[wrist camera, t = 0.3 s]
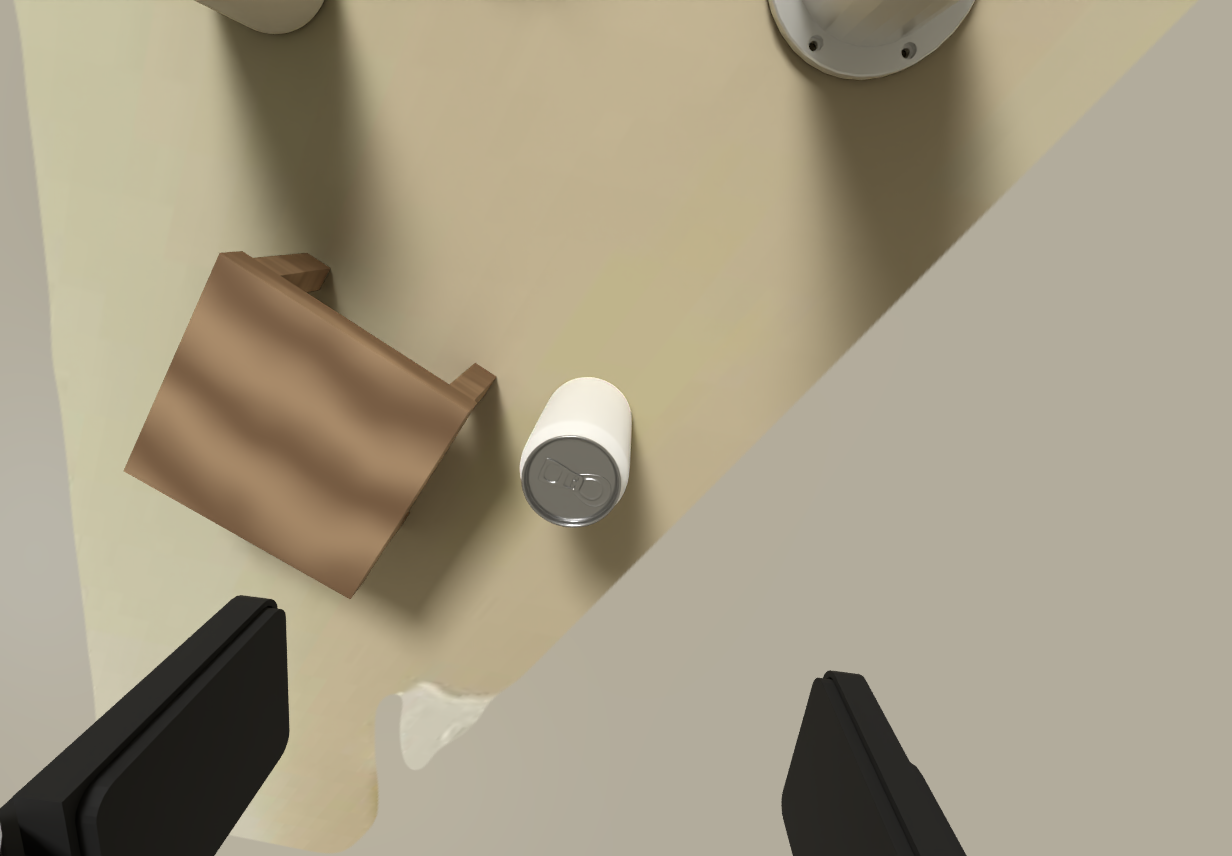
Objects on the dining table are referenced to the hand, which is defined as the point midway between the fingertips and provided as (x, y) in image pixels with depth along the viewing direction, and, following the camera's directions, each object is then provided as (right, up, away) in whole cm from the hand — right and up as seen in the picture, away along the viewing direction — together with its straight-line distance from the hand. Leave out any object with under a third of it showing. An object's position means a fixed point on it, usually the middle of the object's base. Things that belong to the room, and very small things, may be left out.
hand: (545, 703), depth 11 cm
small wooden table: (-18, +7, +35) cm, 40 cm away
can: (-1, +6, +35) cm, 35 cm away
